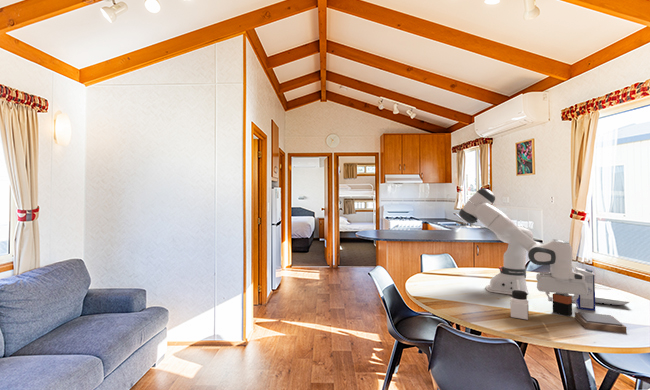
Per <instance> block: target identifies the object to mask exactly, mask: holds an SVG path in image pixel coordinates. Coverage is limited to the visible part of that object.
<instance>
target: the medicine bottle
mask: <svg viewBox="0 0 650 390" xmlns="http://www.w3.org/2000/svg"><path fill="white" fill-rule="evenodd" d="M527 295H528V294H527V293H526V292H525V291H522V290H513V291H512V295H511V299H510V318H516V319H520V320H521V319H522V320H527V321H528V320H529V300H528V296H527Z"/></svg>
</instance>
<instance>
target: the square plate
mask: <svg viewBox="0 0 650 390" xmlns="http://www.w3.org/2000/svg"><path fill="white" fill-rule="evenodd" d="M569 295H570V296H572V299H574V297H575V296H574V294H569ZM595 302H596V303H595V304H602V303H604V305H610V304H612V305H614V306H616V305H618V306H624V305H628V304H629V303H630V300H628V299H627V298H625V296H624V295H622V294H621V293H620V292H619V291H617V290H616V289H614V288H610V287H602V286H595ZM612 305H611V306H612Z"/></svg>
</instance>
